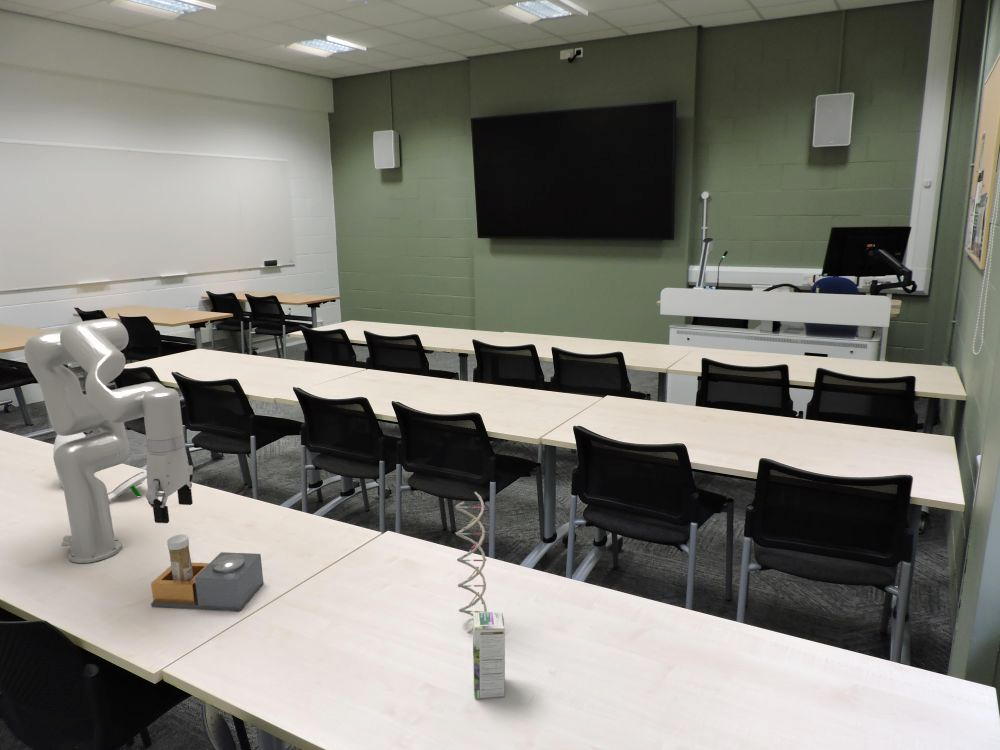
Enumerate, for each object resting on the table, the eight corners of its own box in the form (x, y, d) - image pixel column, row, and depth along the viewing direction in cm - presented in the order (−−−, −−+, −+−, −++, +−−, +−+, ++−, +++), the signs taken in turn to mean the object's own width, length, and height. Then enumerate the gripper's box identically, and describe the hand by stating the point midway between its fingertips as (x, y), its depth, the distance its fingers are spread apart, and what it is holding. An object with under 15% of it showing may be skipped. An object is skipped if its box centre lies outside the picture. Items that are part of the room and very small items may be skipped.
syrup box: (473, 679, 134) (471, 611, 130) (503, 677, 134) (502, 610, 131) (474, 699, 128) (472, 629, 125) (506, 697, 129) (505, 627, 125)
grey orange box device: (151, 607, 160) (146, 571, 158) (186, 574, 175) (182, 541, 173) (240, 611, 158) (236, 575, 156) (268, 577, 173) (265, 544, 170)
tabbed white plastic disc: (133, 484, 232) (144, 458, 228) (152, 497, 231) (164, 472, 228) (98, 502, 218) (109, 474, 214) (118, 516, 217) (129, 489, 214)
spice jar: (197, 591, 165) (189, 539, 162) (176, 597, 162) (168, 544, 159) (193, 583, 168) (186, 532, 165) (172, 589, 166) (165, 537, 163)
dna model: (481, 636, 147) (477, 504, 140) (453, 631, 149) (448, 500, 142) (492, 619, 153) (489, 492, 146) (465, 614, 155) (461, 488, 148)
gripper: (171, 430, 166) (179, 497, 170) (126, 455, 149) (136, 529, 153) (201, 431, 165) (208, 498, 169) (159, 457, 148) (168, 531, 152)
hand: (174, 513), depth 161 cm, fingers open, 9 cm apart
